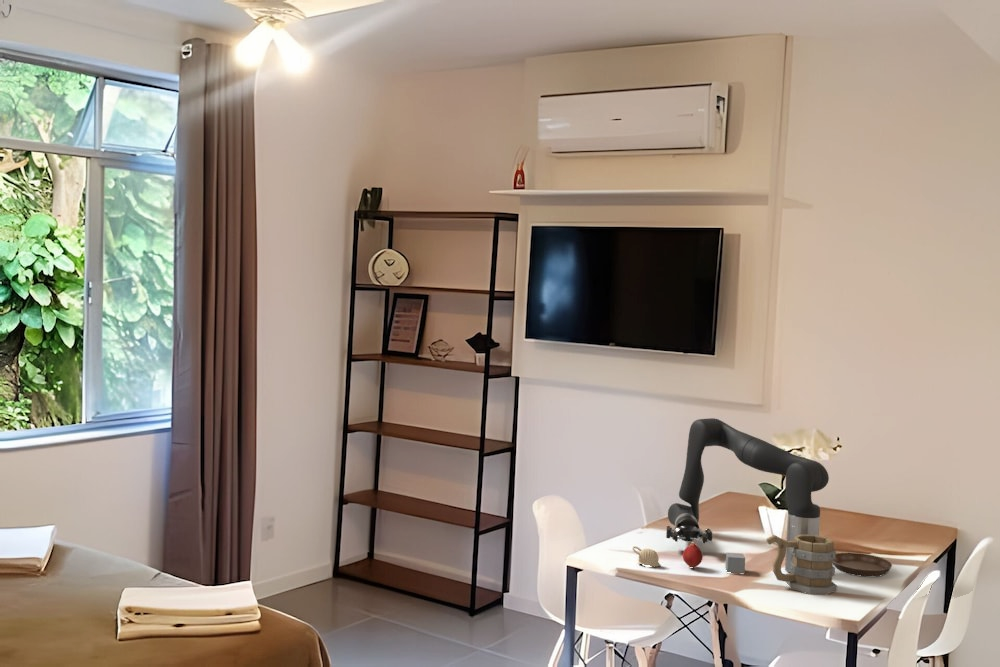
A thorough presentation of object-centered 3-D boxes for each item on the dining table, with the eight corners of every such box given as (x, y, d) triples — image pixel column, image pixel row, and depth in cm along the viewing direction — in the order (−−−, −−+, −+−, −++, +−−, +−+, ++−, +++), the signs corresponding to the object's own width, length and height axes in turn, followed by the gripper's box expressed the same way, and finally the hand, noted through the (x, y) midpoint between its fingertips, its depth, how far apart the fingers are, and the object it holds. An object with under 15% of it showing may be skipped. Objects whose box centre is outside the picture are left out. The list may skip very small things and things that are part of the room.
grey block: (742, 570, 294) (743, 553, 294) (744, 574, 289) (745, 558, 289) (725, 568, 295) (726, 552, 295) (727, 573, 290) (727, 557, 290)
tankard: (824, 581, 285) (827, 530, 284) (841, 595, 273) (844, 541, 272) (757, 579, 284) (759, 528, 284) (770, 593, 272) (773, 540, 271)
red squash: (688, 564, 298) (689, 538, 297) (705, 568, 294) (706, 542, 294) (678, 568, 293) (680, 541, 293) (696, 572, 290) (697, 545, 289)
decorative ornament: (657, 569, 292) (658, 551, 292) (630, 565, 295) (631, 547, 295) (661, 566, 296) (662, 548, 295) (634, 561, 299) (635, 544, 299)
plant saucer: (883, 583, 286) (883, 572, 286) (822, 571, 296) (822, 561, 296) (897, 569, 301) (898, 559, 301) (839, 558, 311) (839, 549, 311)
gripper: (665, 514, 321) (667, 525, 305) (709, 516, 319) (714, 528, 303) (664, 536, 321) (666, 549, 305) (708, 539, 320) (713, 552, 304)
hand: (690, 539), depth 304 cm, fingers open, 8 cm apart
